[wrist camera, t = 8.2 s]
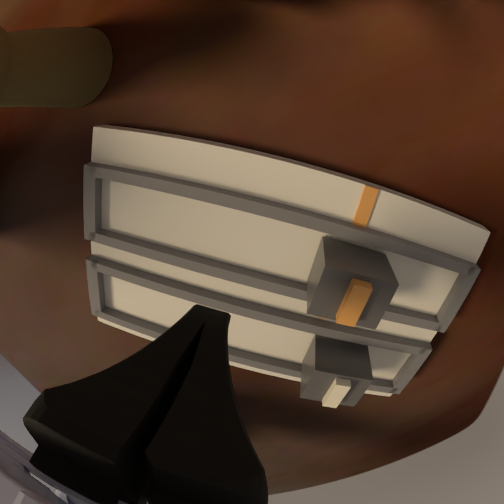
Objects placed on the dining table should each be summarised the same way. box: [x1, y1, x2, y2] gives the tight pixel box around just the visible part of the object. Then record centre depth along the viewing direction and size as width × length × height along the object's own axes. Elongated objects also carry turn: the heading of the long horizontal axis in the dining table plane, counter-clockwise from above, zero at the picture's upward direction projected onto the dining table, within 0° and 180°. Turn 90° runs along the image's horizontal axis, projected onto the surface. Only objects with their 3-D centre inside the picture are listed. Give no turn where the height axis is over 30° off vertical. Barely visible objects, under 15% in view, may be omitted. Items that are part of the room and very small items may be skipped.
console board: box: [83, 125, 491, 396], centre depth 20 cm, size 16×26×2 cm, turn 78°
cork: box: [0, 26, 113, 108], centre depth 11 cm, size 6×6×11 cm
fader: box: [300, 334, 373, 408], centre depth 20 cm, size 3×4×4 cm
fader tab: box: [307, 236, 399, 330], centre depth 16 cm, size 3×4×4 cm
